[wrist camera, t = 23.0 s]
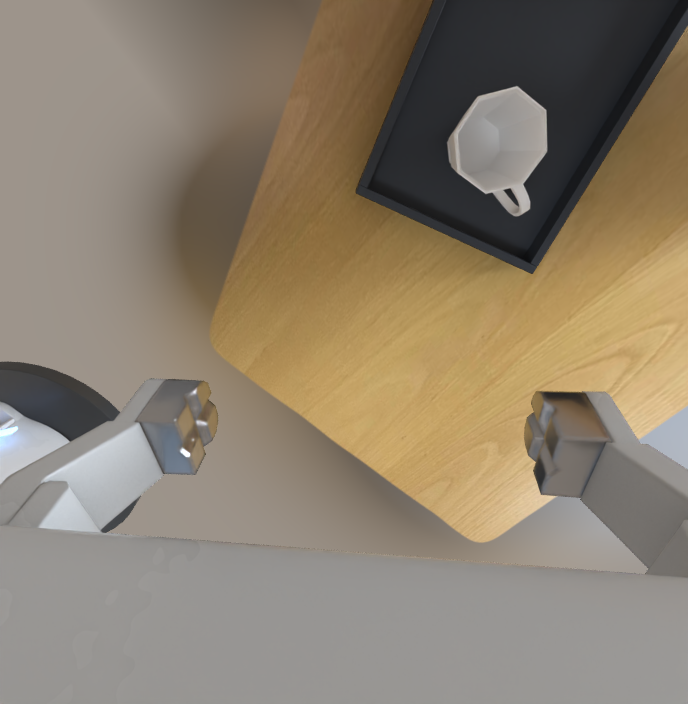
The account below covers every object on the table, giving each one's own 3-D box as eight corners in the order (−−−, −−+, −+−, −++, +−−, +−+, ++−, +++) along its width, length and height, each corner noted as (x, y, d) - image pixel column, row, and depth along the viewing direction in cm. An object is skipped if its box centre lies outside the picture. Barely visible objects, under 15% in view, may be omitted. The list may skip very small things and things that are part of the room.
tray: (521, 267, 42) (532, 274, 40) (355, 191, 40) (355, 193, 37) (721, -61, 32) (754, -81, 29) (513, -198, 29) (529, -233, 26)
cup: (488, 82, 35) (525, 60, 28) (537, 186, 38) (582, 191, 31) (416, 136, 37) (433, 129, 30) (470, 231, 40) (497, 246, 33)
